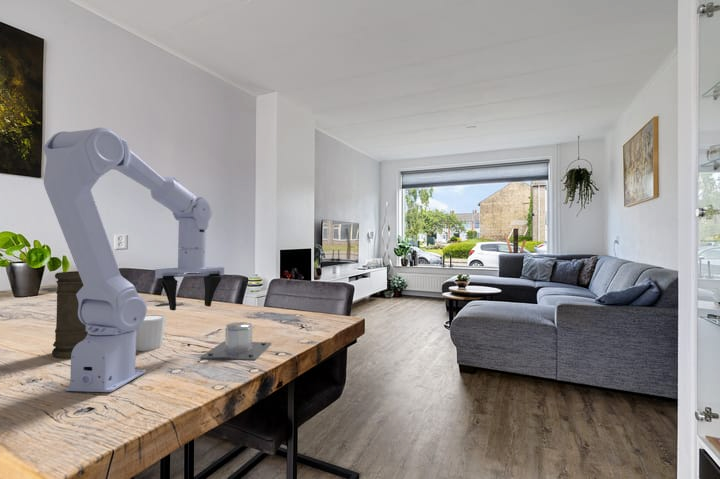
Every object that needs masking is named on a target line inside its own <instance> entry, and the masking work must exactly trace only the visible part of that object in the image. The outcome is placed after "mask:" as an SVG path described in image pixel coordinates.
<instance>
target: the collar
mask: <svg viewBox="0 0 720 479" xmlns="http://www.w3.org/2000/svg"><path fill="white" fill-rule="evenodd" d="M252 342H253V324H252V323H250V322H246V321H245V322H242V321H241V322H238V321H237V322H231V323H229V324H226V326H225V350H226V351H227V352H229V353H241V352H247V351H249V350H251V349H252Z"/></svg>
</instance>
